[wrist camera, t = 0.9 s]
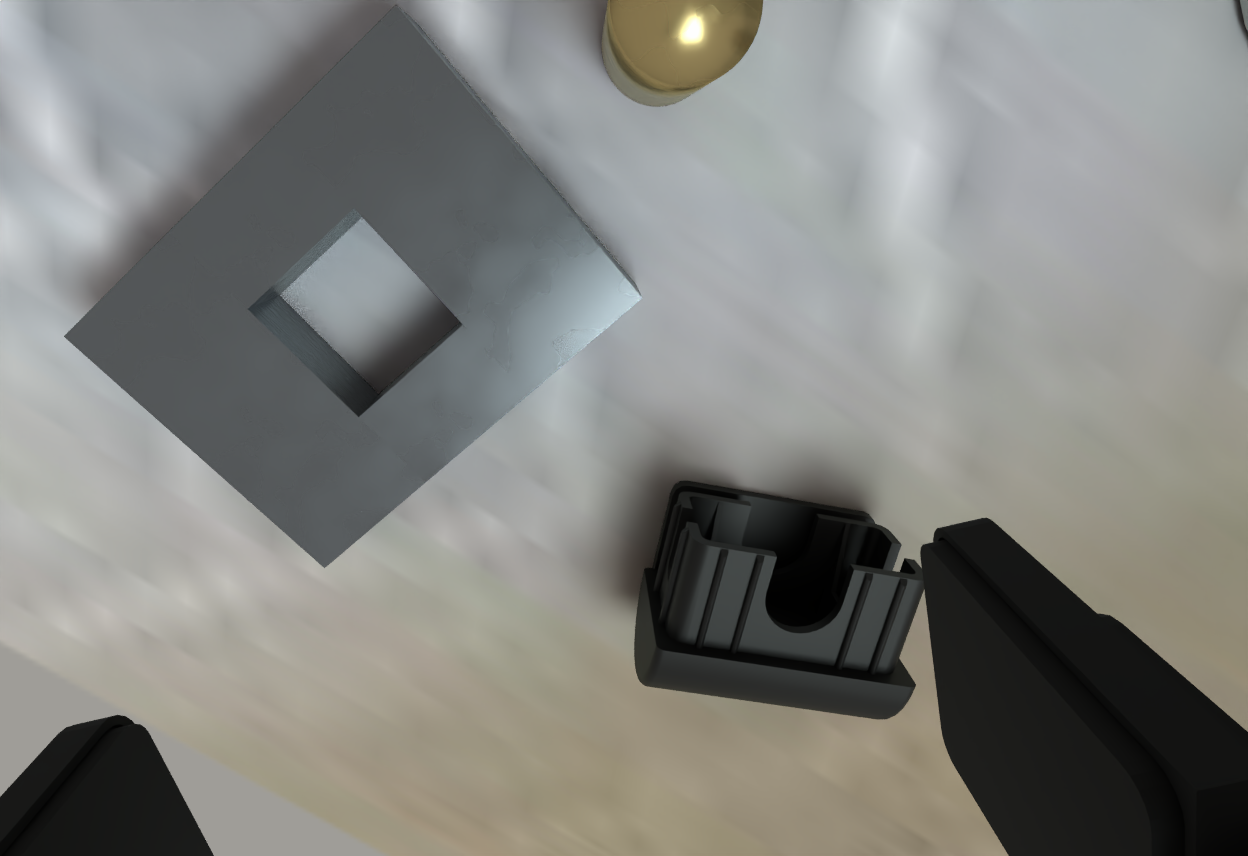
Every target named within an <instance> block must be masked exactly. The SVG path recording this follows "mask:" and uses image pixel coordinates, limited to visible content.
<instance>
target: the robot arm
mask: <svg viewBox="0 0 1248 856" xmlns="http://www.w3.org/2000/svg"><path fill="white" fill-rule="evenodd" d="M1240 3H1241V8H1242V13H1243V18H1244V23H1245V26H1246V28H1247V31H1248V0H1240ZM933 541H934V542H933V543H928V544H924V545H922V547H921V552H920V553H921V564H922V573H923V581H924V589H925V598H926V606H927V614H928V622H929V631H930V639H931V647H932V656H933V664H934V672H935V680H936V689H937V697H938V705H939V714H940V722H941V730H942V735H943V739H944V743H945V746H946V749H947V751H948V754H949V756H950V759H951V761H952V763H953V764H954V766H955V768H956V770H957V771H958V773H959V775H960V776H961V778H962V779H963V781H964V783H965V784H966V786H967V788H968V789H969V791H970V793H971V794H972V796H973V798H974V799H975V801H976V802H977V804H978V806H979V807H980V809H981V811H982V812H983V814H984V816H985V817H986V819H987V821H988V822H989V824H990V825H991V827H992V829H993V830H994V832H995V834H996V835H997V837H998V839H999V840H1000V842H1001V844H1002V845H1003V847H1004V849H1005V850H1006V852H1007V853H1008V855H1009V856H1248V732H1247V731H1246V730H1245V729H1244V728H1242V727H1241V726H1240V725H1239V724H1238V723H1237V722H1236V721H1234V720H1233V719H1232V718H1231V717H1230V716H1229V715H1227V714H1226V713H1225V712H1224V711H1223V710H1222V709H1220V708H1219V707H1218V706H1217V705H1216V704H1215V703H1214V702H1212V701H1211V700H1210V699H1209V698H1208V697H1207V696H1205V695H1204V694H1203V693H1202V692H1201V691H1200V690H1198V689H1197V688H1196V687H1195V686H1194V685H1193V684H1192V683H1190V682H1189V681H1188V680H1187V679H1186V678H1185V677H1183V676H1182V675H1181V674H1180V673H1179V672H1178V671H1177V670H1175V669H1174V668H1173V667H1172V666H1171V665H1170V664H1168V663H1167V662H1166V661H1165V660H1164V659H1163V658H1161V657H1160V656H1159V655H1158V654H1157V653H1156V652H1155V651H1153V650H1152V649H1151V648H1150V647H1149V646H1148V645H1146V644H1145V643H1144V642H1143V641H1142V640H1141V639H1139V638H1138V637H1137V636H1136V635H1135V634H1134V633H1133V632H1131V631H1130V630H1129V629H1128V628H1127V627H1126V626H1124V625H1123V624H1122V623H1121V622H1119V621H1118V620H1116V619H1115V618H1113V617H1112V616H1110V615H1104V614H1097V613H1096V612H1095V611H1093V610H1092V609H1091V608H1090V607H1089V606H1088V605H1087V604H1086V603H1084V602H1083V601H1082V600H1081V599H1080V598H1079V597H1078V596H1077V595H1075V594H1074V593H1073V592H1072V591H1071V590H1070V589H1069V588H1068V587H1066V586H1065V585H1064V584H1063V583H1062V582H1061V581H1060V580H1059V579H1057V578H1056V577H1055V576H1054V575H1053V574H1052V573H1051V572H1050V571H1048V570H1047V569H1046V568H1045V567H1044V566H1043V565H1042V564H1041V563H1039V562H1038V561H1037V560H1036V559H1035V558H1034V557H1033V556H1032V555H1030V554H1029V553H1028V552H1027V551H1026V550H1025V549H1024V548H1022V547H1021V546H1020V545H1019V544H1018V543H1017V542H1016V541H1015V540H1013V539H1012V538H1011V537H1010V536H1009V535H1008V534H1007V533H1006V532H1004V531H1003V530H1002V529H1001V528H1000V527H999V526H998V525H997V524H995V523H994V522H993V521H992V520H990V519H988V518H981V519H976V520H972V521H968V522H963V523H959V524H954V525H950V526H946V527H941V528H937V529H936V531H935V532H934V538H933ZM0 856H214V855H213V853H212V851H211V849H210V848H209V846H208V844H207V842H206V840H205V838H204V836H203V834H202V833H201V830H200V829H199V827H198V825H197V823H196V821H195V819H194V817H193V815H192V813H191V811H190V810H189V808H188V806H187V804H186V802H185V800H184V798H183V796H182V795H181V793H180V791H179V789H178V787H177V785H176V783H175V781H174V779H173V778H172V776H171V774H170V772H169V770H168V768H167V766H166V764H165V762H164V761H163V758H162V757H161V755H160V753H159V751H158V749H157V747H156V745H155V743H154V742H153V740H152V738H151V736H150V734H149V733H148V731H147V730H146V728H145V727H143V726H142V725H140V724H134V723H133V721H132V720H130V719H129V718H127V717H126V716H120V715H115V716H111V717H107V718H103V719H98V720H94V721H89V722H85V723H80V724H76V725H73V726H70V727H66V728H65V729H64V730H63V731H61V732H60V733H59V734H58V735H57V736H56V737H55V738H54V739H53V740H52V741H51V742H50V743H49V744H48V746H47V747H46V748H45V749H44V750H43V751H42V752H41V753H40V754H39V755H38V756H37V758H36V759H35V760H34V761H33V762H32V763H31V764H30V765H29V766H28V768H26V769H25V771H24V772H23V773H22V774H21V775H20V776H19V777H18V778H17V779H16V780H15V781H14V783H13V784H12V785H11V786H10V787H9V788H8V789H7V790H6V791H5V792H4V793H3V794H2V796H1V797H0Z"/></svg>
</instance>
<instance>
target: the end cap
mask: <svg viewBox="0 0 1248 856" xmlns="http://www.w3.org/2000/svg"><path fill="white" fill-rule="evenodd" d="M900 547H901V543H900V542H899V541H898V540H897V539H896V538H895V536H894V535H893V534H892V533H891V532H890V531H889V530H888V529H886V528H884V527H882V526H880V525H877V524H875V522H874V520H873V519H872V518H871V516H870V515H869V514H867V513H865V512H862V511H856V510H851V509H845V508H839V507H834V506H828V505H822V504H816V503H811V502H805V501H799V500H793V499H788V498H782V497H776V496H771V495H765V494H759V493H753V492H748V491H742V490H736V489H731V488H725V487H719V486H713V485H708V484H702V483H696V482H691V481H680V482H679V483H677V484H675V485H674V487H673V489H672V490H671V493H670V497H669V502H668V506H667V510H666V514H665V518H664V522H663V526H662V530H661V534H660V538H659V542H658V547H657V551H656V555H655V559H654V564H653V568H645V569H644V574H643V578H642V583H641V588H640V594H639V600H638V607H637V616H636V626H635V642H634V657H635V668H636V673H637V676H638V679H639V681H640V682H641V683H642V684H643V685H645V686H648V687H655V688H662V689H669V690H676V691H683V692H690V693H697V694H704V695H711V696H718V697H725V698H732V699H739V700H746V701H753V702H760V703H767V704H774V705H781V706H788V707H795V708H802V709H809V710H816V711H822V712H829V713H836V714H843V715H850V716H857V717H864V718H871V719H888V718H890V717H892V716H895V715H896V714H897V713H898V712H900V711H901V710H902V709H903V708H904V706H905V705H906V703H907V702H908V700H909V699H910V697H911V695H912V693H913V691H914V689H915V686H916V684H915V682H914V681H913V679H912V678H911V676H910V674H909V673H908V671H907V670H906V668H905V667H904V665H903V664H902V662H901V661H900V659H899V656H900V654H901V651H902V648H903V645H904V643H905V640H906V637H907V634H908V632H909V629H910V626H911V623H912V621H913V618H914V615H915V613H916V610H917V607H918V604H919V602H920V599H921V596H922V593H923V591H924V581H923V573H922V568H921V567H920V566H919V565H918V564H917V562H916V561H915V560H912V559H906V558H904V561H903V564H902V567H901V570H900V572H895V571H892V570H893V568H894V565H895V562H896V559H897V556H898V553H899V550H900Z"/></svg>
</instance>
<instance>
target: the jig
mask: <svg viewBox="0 0 1248 856" xmlns="http://www.w3.org/2000/svg"><path fill="white" fill-rule="evenodd" d="M361 217H363V218H364V219H365V220H366V221H367V222H368V223H369V225H370V226H371V227H372V228H373V229H374V230H375V231H376V232H377V233H378V234H379V235H380V236H381V237H382V238H383V240H384V241H385V242H386V243H387V244H388V245H389V246H390V247H391V248H392V249H393V250H394V251H395V252H396V253H397V255H398V256H399V257H400V258H401V259H402V260H403V261H404V262H405V263H406V264H407V265H408V266H409V267H410V268H411V270H412V271H413V272H414V273H415V274H416V275H417V276H418V277H419V278H420V279H421V280H422V281H423V282H424V283H425V285H426V286H427V287H428V288H429V289H430V290H431V291H432V292H433V293H434V294H435V295H436V296H437V297H438V298H439V299H440V301H441V302H442V303H443V304H444V305H445V306H446V307H447V308H448V309H449V310H450V311H451V312H452V313H453V314H454V316H455V317H456V318H457V319H458V320H459V321H460V323H458V324H457V325H456V326H455V327H454V328H453V329H452V330H451V331H449V332H448V333H447V334H446V335H445V336H444V337H443V338H442V339H440V340H439V341H438V342H437V343H436V344H435V345H434V346H433V347H431V348H430V349H429V350H428V351H427V352H426V353H425V354H424V355H422V356H421V357H420V358H419V359H418V360H417V361H416V362H415V363H413V364H412V365H411V366H410V367H409V368H408V369H407V370H406V371H404V372H403V373H402V374H401V375H400V376H399V377H398V378H396V379H395V380H394V381H393V382H392V383H391V384H390V385H389V386H387V387H386V388H385V389H384V390H383V391H382V392H381V393H380V394H378V393H377V392H376V391H375V390H374V389H373V388H372V387H371V386H370V385H369V384H368V383H367V382H366V381H365V380H364V379H363V378H362V377H361V376H360V375H359V374H358V373H356V372H355V371H354V370H353V369H352V368H351V367H350V366H349V365H348V364H347V363H346V362H345V361H344V360H343V359H342V358H341V357H340V356H339V355H338V354H337V353H336V352H335V351H334V350H333V349H332V348H331V347H330V346H329V345H328V344H327V343H326V342H325V341H324V340H323V339H322V338H321V337H320V336H319V335H318V334H317V333H316V332H315V331H314V330H313V329H312V328H311V327H310V326H309V325H308V324H307V323H306V322H305V321H304V320H303V319H302V318H301V317H300V316H299V315H298V314H297V313H296V312H295V311H294V310H293V309H292V308H291V307H290V306H289V305H288V304H287V303H286V302H285V301H284V300H283V299H282V298H281V297H280V296H279V295H280V294H281V293H282V292H283V291H284V290H285V289H286V288H287V287H288V286H289V285H290V284H291V283H293V282H294V281H295V280H296V279H297V278H298V277H299V276H300V275H301V274H302V273H303V272H304V271H305V270H306V269H307V268H308V267H309V266H311V265H312V264H313V263H314V262H315V261H316V260H317V259H318V258H319V257H320V256H321V255H322V254H323V253H324V252H325V251H326V250H327V249H329V248H330V247H331V246H332V245H333V244H334V243H335V242H336V241H337V240H338V239H339V238H340V237H341V236H342V235H343V234H344V233H345V232H347V231H348V230H349V229H350V228H351V227H352V226H353V225H354V224H355V223H356V222H357V221H358V220H359V219H360V218H361ZM641 299H642V296H641V294H640V292H639V290H638V288H637V286H636V284H635V283H634V282H633V281H632V280H631V278H630V277H629V276H628V275H627V274H626V272H625V271H624V270H623V269H622V268H621V266H620V265H619V264H618V263H617V262H616V260H615V259H614V258H613V257H612V256H611V254H610V253H609V252H608V251H607V250H606V249H605V247H604V246H603V245H602V244H601V243H600V241H599V240H598V239H597V238H596V237H595V235H594V234H593V233H592V232H591V231H590V229H589V228H588V227H587V226H586V225H585V223H584V222H583V221H582V220H581V219H580V218H579V216H578V215H577V214H576V213H575V212H574V210H573V209H572V208H571V207H570V206H569V204H568V203H567V202H566V201H565V200H564V198H563V197H562V196H561V195H560V194H559V192H558V191H557V190H556V189H555V188H554V186H553V185H552V184H551V183H550V182H549V181H548V179H547V178H546V177H545V176H544V175H543V173H542V172H541V171H540V170H539V169H538V167H537V166H536V165H535V164H534V163H533V161H532V160H531V159H530V158H529V157H528V155H527V154H526V153H525V152H524V151H523V150H522V148H521V147H520V146H519V145H518V144H517V142H516V141H515V140H514V139H513V138H512V136H511V135H510V134H509V133H508V132H507V130H506V129H505V128H504V127H503V126H502V124H501V123H500V122H499V121H498V120H497V118H496V117H495V116H494V115H493V114H492V113H491V111H490V110H489V109H488V108H487V107H486V105H485V104H484V103H483V102H482V101H481V99H480V98H479V97H478V96H477V95H476V93H475V92H474V91H473V90H472V89H471V87H470V86H469V85H468V84H467V83H466V82H465V80H464V79H463V78H462V77H461V76H460V74H459V73H458V72H457V71H456V70H455V68H454V67H453V66H452V65H451V64H450V62H449V61H448V60H447V59H446V58H445V56H444V55H443V54H442V53H441V52H440V50H439V49H438V48H437V47H436V46H435V45H434V43H433V42H432V41H431V40H430V39H429V37H428V36H427V35H426V34H425V33H424V31H423V30H422V29H421V28H420V27H419V25H418V24H417V23H416V22H415V21H414V20H413V19H412V18H411V17H409V16H408V15H407V14H406V13H405V12H404V11H402V10H401V9H400V8H399V7H398V6H397V5H395V6H394V7H393V8H392V9H391V10H390V11H389V12H388V13H387V14H386V15H385V16H384V17H383V18H382V19H381V20H380V21H379V22H378V23H377V24H376V25H375V26H374V27H373V28H372V29H371V30H370V31H369V32H368V33H367V34H366V35H365V36H364V37H363V38H362V39H361V40H360V41H359V42H358V43H357V44H356V45H355V46H354V47H353V48H352V49H351V50H350V51H349V52H348V53H347V54H346V55H345V56H344V57H343V58H342V59H341V60H340V61H339V62H338V63H337V64H336V65H335V66H334V67H333V68H332V69H331V70H330V71H329V72H328V73H327V74H326V75H325V76H324V77H323V78H322V79H321V80H320V81H319V82H318V83H317V84H316V85H315V86H314V87H313V88H312V89H311V90H310V91H309V92H308V93H307V94H306V95H305V96H304V97H303V98H302V99H301V100H300V101H299V102H298V103H297V104H296V105H295V106H294V107H293V108H292V109H291V110H290V111H289V112H288V113H287V114H286V115H285V116H284V117H283V118H282V119H281V120H280V121H279V122H278V123H277V124H276V125H275V126H274V127H273V128H272V129H271V130H270V131H269V132H268V133H267V134H266V135H265V136H264V137H263V138H262V139H261V140H260V141H259V142H258V143H257V144H256V145H255V146H254V147H253V148H252V149H251V150H250V151H249V152H248V153H247V154H246V155H245V156H244V157H243V158H242V159H241V160H240V161H239V162H238V163H237V164H236V165H235V166H234V167H233V168H232V169H231V170H230V171H229V172H228V173H227V174H226V175H225V176H224V177H223V178H222V179H221V180H220V181H219V182H218V183H217V184H216V185H215V186H214V187H213V188H212V189H211V190H210V191H209V192H208V193H207V194H206V195H205V196H204V197H203V198H202V199H201V200H200V201H199V202H198V203H197V204H196V205H195V206H194V207H193V208H192V209H191V210H190V211H189V212H188V213H187V214H186V215H185V216H184V217H183V218H182V219H181V220H180V221H179V222H178V223H177V224H176V225H175V226H174V227H173V228H172V229H171V230H170V231H169V232H168V233H167V234H166V235H165V236H164V237H163V238H162V239H161V240H160V241H159V242H158V243H157V244H156V245H155V246H154V247H153V248H152V249H151V250H150V251H149V252H148V253H147V254H146V255H145V256H144V257H143V258H142V259H141V260H140V261H139V262H138V263H137V264H136V265H135V266H134V267H133V268H132V269H131V270H130V271H129V272H128V273H127V274H126V275H125V276H124V277H123V278H122V279H121V280H120V281H119V282H118V283H117V284H116V285H115V286H114V287H113V288H112V289H111V290H110V291H109V292H108V293H107V294H106V295H105V296H104V297H103V298H102V299H101V300H100V301H99V302H98V303H97V304H96V305H95V306H94V307H93V308H92V309H91V310H90V311H89V312H88V313H87V314H86V315H85V316H84V317H83V318H82V319H81V320H80V321H79V322H78V323H77V324H76V325H75V326H74V327H73V328H72V329H71V330H70V331H69V332H68V333H67V334H66V335H65V336H64V337H65V338H66V339H67V340H68V341H70V342H71V343H72V344H73V345H74V346H75V347H76V348H77V349H79V350H80V351H81V352H82V353H83V354H84V355H85V356H86V357H88V358H89V359H90V360H91V361H92V362H93V363H94V364H95V365H97V366H98V367H99V368H100V369H101V370H102V371H103V372H104V373H106V374H107V375H108V376H109V377H110V378H111V379H112V380H113V381H115V382H116V383H117V384H118V385H119V386H120V387H121V388H122V389H124V390H125V391H126V392H127V393H128V394H129V395H130V396H131V397H133V398H134V399H135V400H136V401H137V402H138V403H139V404H140V405H142V406H143V407H144V408H145V409H146V410H147V411H148V412H149V413H151V414H152V415H153V416H154V417H155V418H156V419H157V420H158V421H160V422H161V423H162V424H163V425H164V426H165V427H166V428H167V429H169V430H170V431H171V432H172V433H173V434H174V435H175V436H176V437H178V438H179V439H180V440H181V441H182V442H183V443H184V444H185V445H187V446H188V447H189V448H190V449H191V450H192V451H193V452H194V453H196V454H197V455H198V456H199V457H200V458H201V459H202V460H203V461H205V462H206V463H207V464H208V465H209V466H210V467H211V468H212V469H214V470H215V471H216V472H217V473H218V474H219V475H220V476H221V477H223V478H224V479H225V480H226V481H227V482H228V483H229V484H230V485H232V486H233V487H234V488H235V489H236V490H237V491H238V492H239V493H241V494H242V495H243V496H244V497H245V498H246V499H247V500H248V501H250V502H251V503H252V504H253V505H254V506H255V507H256V508H257V509H259V510H260V511H261V512H262V513H263V514H264V515H265V516H266V517H268V518H269V519H270V520H271V521H272V522H273V523H274V524H275V525H277V526H278V527H279V528H280V529H281V530H282V531H283V532H284V533H286V534H287V535H288V536H289V537H290V538H291V539H292V540H293V541H295V542H296V543H297V544H298V545H299V546H300V547H301V548H303V549H304V550H305V551H306V552H307V553H308V554H309V555H310V556H312V557H313V558H314V559H315V560H316V561H317V562H318V563H319V564H321V565H322V566H323V567H324V568H325V567H326V566H328V565H329V564H330V563H331V562H332V561H334V560H335V559H336V558H337V557H338V556H339V555H341V554H342V553H343V552H344V551H345V550H346V549H348V548H349V547H350V546H351V545H352V544H354V543H355V542H356V541H357V540H358V539H359V538H361V537H362V536H363V535H364V534H365V533H366V532H368V531H369V530H370V529H371V528H372V527H374V526H375V525H376V524H377V523H378V522H379V521H381V520H382V519H383V518H384V517H385V516H386V515H388V514H389V513H390V512H391V511H392V510H394V509H395V508H396V507H397V506H398V505H399V504H401V503H402V502H403V501H404V500H405V499H406V498H408V497H409V496H410V495H411V494H412V493H414V492H415V491H416V490H417V489H418V488H419V487H421V486H422V485H423V484H424V483H425V482H426V481H428V480H429V479H430V478H431V477H432V476H434V475H435V474H436V473H437V472H438V471H439V470H441V469H442V468H443V467H444V466H445V465H446V464H448V463H449V462H450V461H451V460H452V459H454V458H455V457H456V456H457V455H458V454H459V453H461V452H462V451H463V450H464V449H465V448H466V447H468V446H469V445H470V444H471V443H472V442H474V441H475V440H476V439H477V438H478V437H479V436H481V435H482V434H483V433H484V432H485V431H486V430H488V429H489V428H490V427H491V426H492V425H494V424H495V423H496V422H497V421H498V420H499V419H501V418H502V417H503V416H504V415H505V414H506V413H508V412H509V411H510V410H511V409H512V408H514V407H515V406H516V405H517V404H518V403H519V402H521V401H522V400H523V399H524V398H525V397H526V396H528V395H529V394H530V393H531V392H532V391H534V390H535V389H536V388H537V387H538V386H539V385H541V384H542V383H543V382H544V381H545V380H546V379H548V378H549V377H550V376H551V375H552V374H554V373H555V372H556V371H557V370H558V369H559V368H561V367H562V366H563V365H564V364H565V363H566V362H568V361H569V360H570V359H571V358H572V357H574V356H575V355H576V354H577V353H578V352H579V351H581V350H582V349H583V348H584V347H585V346H586V345H588V344H589V343H590V342H591V341H592V340H594V339H595V338H596V337H597V336H598V335H599V334H601V333H602V332H603V331H604V330H605V329H606V328H608V327H609V326H610V325H611V324H612V323H614V322H615V321H616V320H617V319H618V318H619V317H621V316H622V315H623V314H624V313H625V312H626V311H628V310H629V309H630V308H631V307H632V306H634V305H635V304H636V303H637V302H638V301H639V300H641Z"/></svg>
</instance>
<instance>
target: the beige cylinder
mask: <svg viewBox="0 0 1248 856" xmlns="http://www.w3.org/2000/svg"><path fill="white" fill-rule="evenodd" d="M762 7H763V0H608V4H607V10H606V16H605V22H604V27H603V33H602V57H603V61H604V65H605V68H606V70H607V73H608V75H609V77H610V79H611V80H612V82H613V83H614V85H615V86H616V87H617V88H618V89H619V90H620V91H621V92H622V93H623V94H624V95H625V96H627V97H628V98H630V99H631V100H633V101H635V102H637V103H640V104H643V105H647V106H656V107H660V106H668V105H671V104H675V103H677V102H679V101H681V100H683V99H685V98H687V97H688V96H690V95H691V94H693V93H695V92H696V91H698V90H699V89H701V88H703V87H704V86H706V85H708V84H709V83H711V82H712V81H714V80H716V79H717V78H719V77H720V76H722V75H724V74H725V73H727V72H728V71H729V70H730V69H732V68H733V67H734V66H735V65H736V64H737V63H738V62H739V61H740V60H741V59H742V57H743V56H744V55H745V54H746V52H747V51H748V49H749V47H750V46H751V44H752V42H753V40H754V38H755V36H756V33H757V30H758V27H759V24H760V20H761V15H762Z"/></svg>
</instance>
